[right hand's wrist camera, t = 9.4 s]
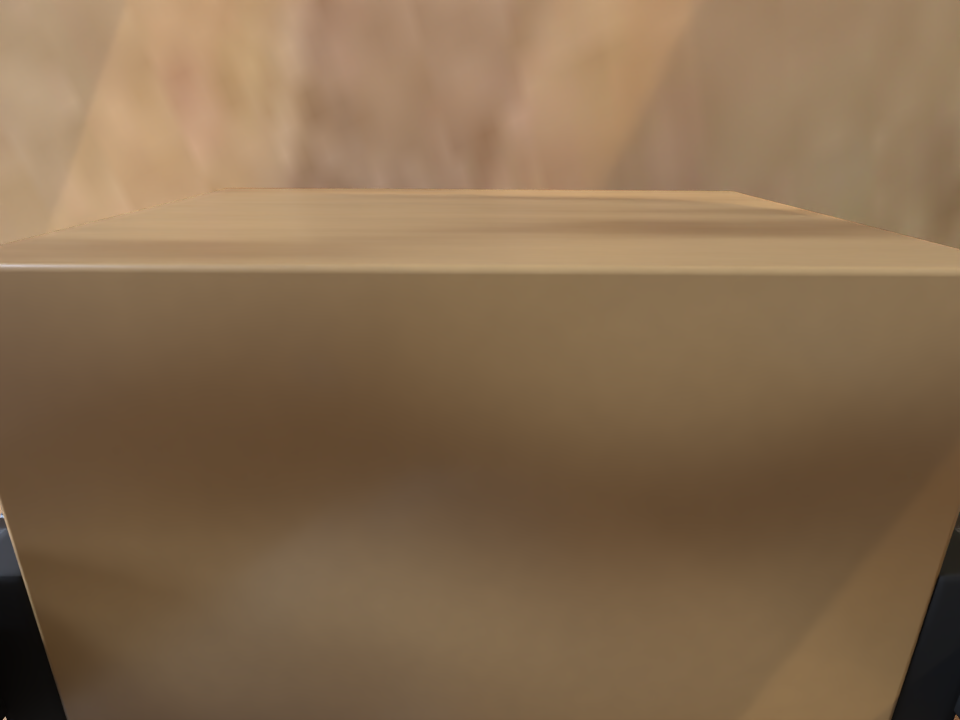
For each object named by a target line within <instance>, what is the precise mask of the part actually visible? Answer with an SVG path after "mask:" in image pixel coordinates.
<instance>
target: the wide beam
mask: <svg viewBox="0 0 960 720" xmlns="http://www.w3.org/2000/svg"><path fill="white" fill-rule="evenodd" d="M0 507H1V510H2V513H3V516H4V520H5V523H6V526H7V529H8V532H9V536H10V539H11V542H12V545H13V548H14V552H15V555H16V558H17V561H18V564H19V568H20V571H21V574H22V577H23V580H24V584H25V587H26V590H27V593H28V596H29V600H30V603H31V606H32V609H33V612H34V616H35V619H36V622H37V625H38V628H39V632H40V635H41V638H42V641H43V644H44V648H45V651H46V654H47V657H48V660H49V664H50V667H51V670H52V673H53V676H54V680H55V683H56V686H57V689H58V692H59V696H60V699H61V702H62V705H63V708H64V712H65V715H66V718H67V720H891V719H892V716H893V713H894V710H895V707H896V704H897V701H898V698H899V694H900V691H901V688H902V685H903V682H904V679H905V676H906V673H907V670H908V667H909V664H910V661H911V658H912V655H913V652H914V649H915V646H916V643H917V640H918V637H919V634H920V631H921V628H922V624H923V621H924V618H925V615H926V612H927V609H928V606H929V603H930V600H931V597H932V594H933V591H934V588H935V585H936V582H937V579H938V576H939V573H940V570H941V567H942V564H943V561H944V557H945V554H946V551H947V548H948V545H949V542H950V539H951V536H952V533H953V530H954V527H955V524H956V521H957V518H958V515H959V512H960V249H957V248H953V247H949V246H945V245H941V244H937V243H934V242H930V241H926V240H922V239H918V238H914V237H910V236H906V235H902V234H898V233H894V232H891V231H887V230H883V229H879V228H875V227H871V226H867V225H863V224H859V223H855V222H851V221H848V220H844V219H840V218H836V217H832V216H828V215H824V214H820V213H816V212H812V211H808V210H805V209H801V208H797V207H793V206H789V205H785V204H781V203H777V202H773V201H769V200H765V199H762V198H758V197H754V196H750V195H746V194H742V193H738V192H734V191H651V190H486V189H322V188H225V189H221V190H217V191H213V192H209V193H205V194H201V195H197V196H193V197H189V198H185V199H181V200H177V201H173V202H169V203H165V204H161V205H157V206H153V207H149V208H145V209H141V210H137V211H133V212H129V213H125V214H121V215H117V216H113V217H109V218H105V219H101V220H97V221H93V222H89V223H85V224H81V225H77V226H73V227H69V228H65V229H61V230H57V231H53V232H49V233H45V234H41V235H37V236H33V237H29V238H25V239H21V240H17V241H13V242H9V243H5V244H1V245H0Z"/></svg>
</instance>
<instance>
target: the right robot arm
mask: <svg viewBox="0 0 960 720" xmlns="http://www.w3.org/2000/svg"><path fill="white" fill-rule="evenodd" d="M955 715H957V716H958V717H959V718H960V512H959V515H958V518H957V521H956V524H955V527H954V530H953V533H952V536H951V539H950V542H949V545H948V548H947V551H946V554H945V557H944V561H943V564H942V567H941V570H940V573H939V576H938V579H937V582H936V585H935V588H934V591H933V594H932V597H931V600H930V603H929V606H928V609H927V612H926V615H925V618H924V621H923V624H922V628H921V631H920V634H919V637H918V640H917V643H916V646H915V649H914V652H913V655H912V658H911V661H910V664H909V667H908V670H907V673H906V676H905V679H904V682H903V685H902V688H901V691H900V694H899V698H898V701H897V704H896V707H895V710H894V713H893V716H892V719H891V720H954V717H955ZM5 716H6V718H7V720H67V718H66V715H65V712H64V708H63V705H62V702H61V699H60V696H59V692H58V689H57V686H56V683H55V680H54V676H53V673H52V670H51V667H50V664H49V660H48V657H47V654H46V651H45V648H44V644H43V641H42V638H41V635H40V632H39V628H38V625H37V622H36V619H35V616H34V612H33V609H32V606H31V603H30V600H29V596H28V593H27V590H26V587H25V584H24V580H23V577H22V574H21V571H20V568H19V564H18V561H17V558H16V555H15V552H14V548H13V545H12V542H11V539H10V536H9V532H8V529H7V526H6V523H5V520H4V516H3V513H1V516H0V720H3V719H4V717H5Z"/></svg>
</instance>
